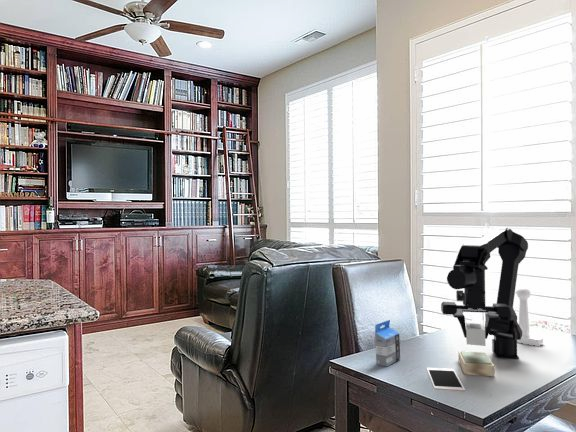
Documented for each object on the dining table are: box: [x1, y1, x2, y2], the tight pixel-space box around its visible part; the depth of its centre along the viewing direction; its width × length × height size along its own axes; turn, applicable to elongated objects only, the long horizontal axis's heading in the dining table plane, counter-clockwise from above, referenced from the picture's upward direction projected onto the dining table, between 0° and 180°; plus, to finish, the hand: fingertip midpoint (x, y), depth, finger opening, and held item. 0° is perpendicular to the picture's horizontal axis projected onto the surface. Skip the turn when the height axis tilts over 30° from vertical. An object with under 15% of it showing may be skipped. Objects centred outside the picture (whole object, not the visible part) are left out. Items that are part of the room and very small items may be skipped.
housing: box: [465, 322, 486, 347], centre depth 128 cm, size 5×8×5 cm, turn 158°
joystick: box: [515, 286, 544, 347], centre depth 155 cm, size 11×8×20 cm
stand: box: [458, 350, 496, 377], centre depth 128 cm, size 8×12×3 cm, turn 166°
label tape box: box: [374, 319, 401, 367], centre depth 134 cm, size 9×4×12 cm, turn 137°
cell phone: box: [426, 367, 466, 391], centre depth 120 cm, size 8×16×1 cm, turn 169°
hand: (475, 337), depth 128 cm, fingers closed on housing, 5 cm apart
